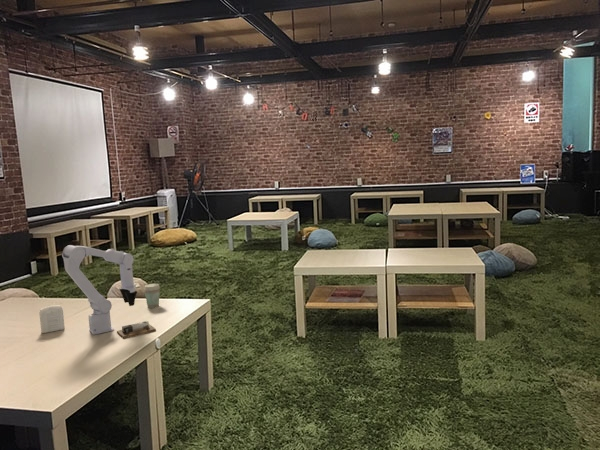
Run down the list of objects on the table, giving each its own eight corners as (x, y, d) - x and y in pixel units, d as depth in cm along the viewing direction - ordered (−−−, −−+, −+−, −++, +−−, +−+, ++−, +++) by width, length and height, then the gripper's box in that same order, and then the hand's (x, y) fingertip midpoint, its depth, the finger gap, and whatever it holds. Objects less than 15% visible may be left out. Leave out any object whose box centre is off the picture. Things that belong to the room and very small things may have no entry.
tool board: (123, 338, 229) (122, 332, 228) (117, 332, 237) (116, 326, 237) (155, 330, 237) (155, 324, 237) (148, 325, 246) (148, 319, 245)
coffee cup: (151, 309, 272) (149, 288, 270) (142, 307, 277) (140, 286, 275) (164, 305, 278) (162, 284, 277) (155, 303, 284) (153, 282, 282)
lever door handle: (124, 333, 232) (123, 328, 232) (122, 331, 235) (121, 326, 235) (150, 327, 239) (149, 322, 239) (147, 326, 242) (147, 320, 241)
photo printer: (64, 327, 249) (61, 302, 248) (65, 329, 246) (62, 304, 244) (40, 331, 244) (37, 307, 242) (42, 334, 240) (39, 309, 238)
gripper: (139, 278, 245) (142, 305, 247) (130, 273, 257) (132, 299, 259) (124, 280, 241) (127, 308, 243) (116, 275, 253) (118, 302, 255)
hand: (129, 303), depth 251 cm, fingers open, 7 cm apart
